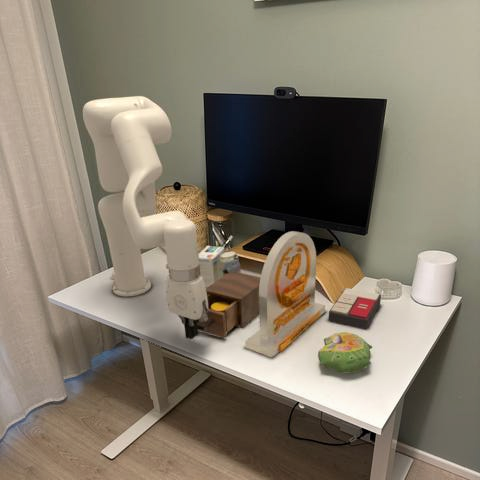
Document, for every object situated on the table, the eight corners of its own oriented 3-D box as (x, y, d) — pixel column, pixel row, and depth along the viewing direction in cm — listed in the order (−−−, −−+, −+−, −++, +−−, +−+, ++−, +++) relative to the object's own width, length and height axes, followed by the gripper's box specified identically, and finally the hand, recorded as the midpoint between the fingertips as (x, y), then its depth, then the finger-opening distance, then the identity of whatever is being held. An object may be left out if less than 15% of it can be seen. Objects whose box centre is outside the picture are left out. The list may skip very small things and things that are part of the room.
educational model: (375, 346, 117) (377, 328, 114) (368, 384, 104) (370, 364, 101) (326, 339, 121) (327, 321, 118) (313, 374, 108) (314, 355, 105)
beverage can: (241, 292, 147) (240, 257, 141) (219, 291, 148) (217, 257, 142) (245, 283, 152) (243, 250, 146) (224, 282, 153) (221, 249, 147)
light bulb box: (209, 273, 160) (206, 244, 155) (226, 275, 158) (225, 246, 153) (196, 286, 152) (193, 256, 146) (215, 288, 150) (212, 258, 144)
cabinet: (242, 327, 128) (241, 299, 123) (206, 317, 134) (203, 289, 129) (267, 305, 138) (267, 278, 134) (232, 297, 144) (231, 270, 140)
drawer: (214, 347, 118) (211, 323, 114) (179, 336, 123) (176, 313, 120) (250, 316, 131) (249, 293, 128) (217, 307, 137) (216, 285, 133)
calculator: (328, 309, 127) (345, 285, 138) (327, 322, 129) (344, 297, 140) (367, 317, 122) (381, 292, 133) (366, 331, 124) (380, 304, 135)
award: (273, 358, 114) (272, 256, 100) (245, 347, 119) (241, 248, 105) (326, 312, 133) (332, 221, 119) (300, 304, 138) (303, 215, 124)
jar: (208, 320, 128) (207, 308, 126) (218, 312, 132) (217, 300, 130) (223, 324, 126) (222, 312, 124) (233, 316, 129) (232, 304, 127)
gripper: (150, 271, 110) (160, 335, 119) (200, 283, 103) (206, 351, 112) (170, 260, 115) (178, 322, 124) (218, 271, 108) (223, 336, 117)
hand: (192, 336), depth 118 cm, fingers closed
